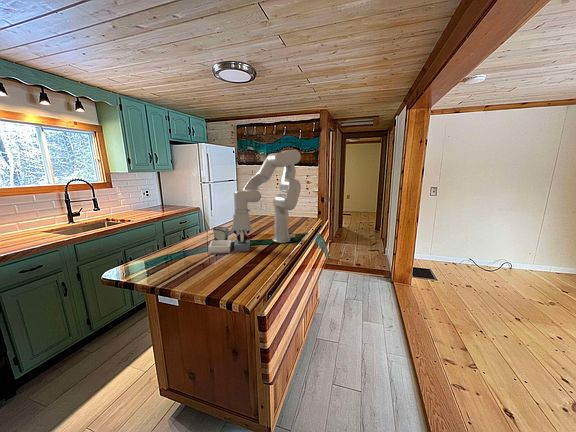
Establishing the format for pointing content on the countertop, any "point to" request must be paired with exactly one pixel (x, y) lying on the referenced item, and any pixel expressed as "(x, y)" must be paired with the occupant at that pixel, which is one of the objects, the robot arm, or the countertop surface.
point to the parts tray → (219, 246)
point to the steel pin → (242, 236)
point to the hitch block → (242, 246)
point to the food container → (220, 233)
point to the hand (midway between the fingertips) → (242, 240)
